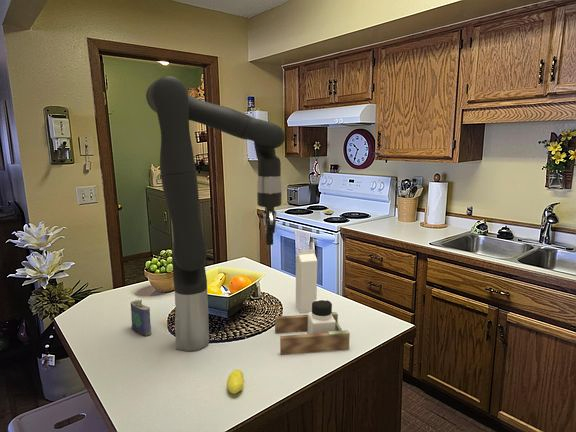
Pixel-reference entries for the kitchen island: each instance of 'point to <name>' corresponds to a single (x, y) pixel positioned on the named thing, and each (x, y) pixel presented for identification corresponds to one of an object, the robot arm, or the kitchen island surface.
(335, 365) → the kitchen island surface
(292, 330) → the bay
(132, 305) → the flask
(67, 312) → the kitchen island surface
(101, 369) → the kitchen island surface
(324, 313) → the medicine bottle
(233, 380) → the lemon
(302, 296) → the milk
